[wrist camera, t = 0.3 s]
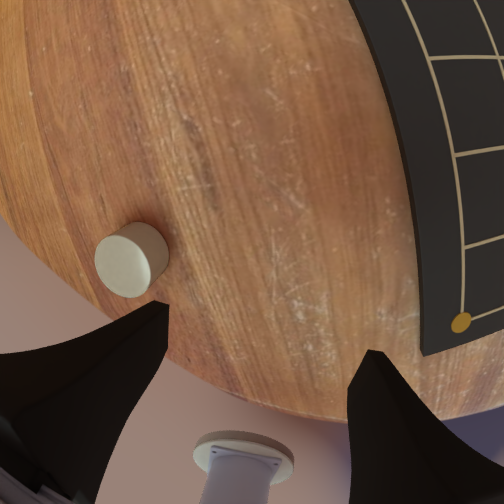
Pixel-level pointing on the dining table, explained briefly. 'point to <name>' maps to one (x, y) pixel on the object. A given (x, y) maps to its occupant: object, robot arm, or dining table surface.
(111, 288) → the cylinder
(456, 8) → the board
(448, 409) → the dining table surface
